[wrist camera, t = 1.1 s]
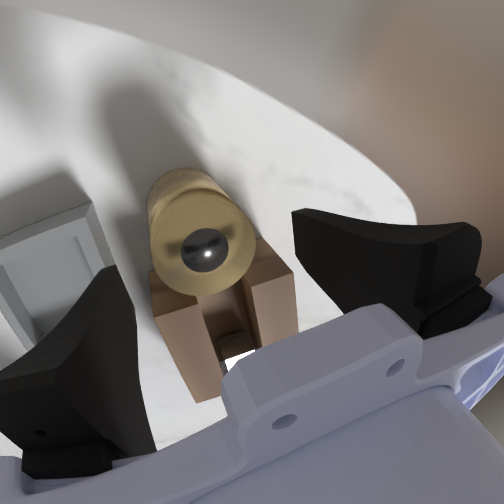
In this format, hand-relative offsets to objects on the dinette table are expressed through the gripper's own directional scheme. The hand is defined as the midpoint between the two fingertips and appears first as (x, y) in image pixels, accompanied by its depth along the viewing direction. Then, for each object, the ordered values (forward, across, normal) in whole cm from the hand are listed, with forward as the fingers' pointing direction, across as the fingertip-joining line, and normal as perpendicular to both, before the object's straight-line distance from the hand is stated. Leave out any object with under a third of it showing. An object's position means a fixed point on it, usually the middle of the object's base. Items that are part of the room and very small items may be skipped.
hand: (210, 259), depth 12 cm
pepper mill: (+7, 0, 0) cm, 7 cm away
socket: (+7, +9, +2) cm, 12 cm away
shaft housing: (+7, 0, +8) cm, 10 cm away
